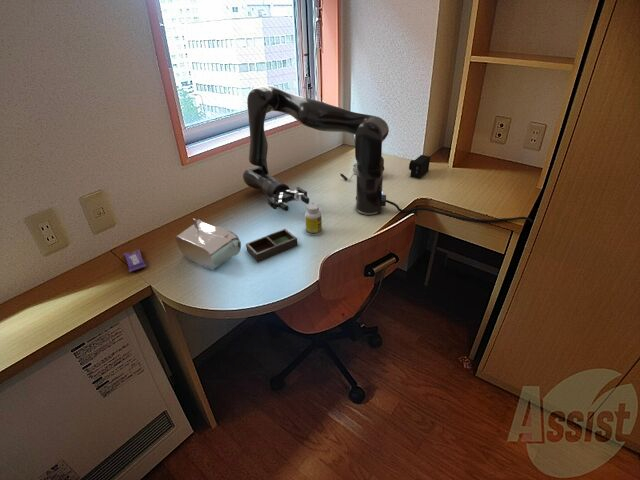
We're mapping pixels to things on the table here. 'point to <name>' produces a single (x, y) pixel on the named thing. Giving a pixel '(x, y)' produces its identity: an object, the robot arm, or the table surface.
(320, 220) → the supplement bottle
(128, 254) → the snack package
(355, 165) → the clip-on lamp
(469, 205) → the table surface
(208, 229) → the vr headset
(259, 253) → the divided box
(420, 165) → the digital camera
